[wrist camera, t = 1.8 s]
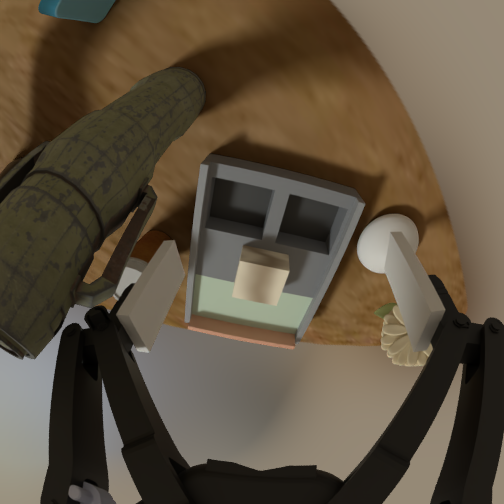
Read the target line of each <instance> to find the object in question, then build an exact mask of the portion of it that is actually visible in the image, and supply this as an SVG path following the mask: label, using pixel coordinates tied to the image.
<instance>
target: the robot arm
mask: <svg viewBox="0 0 504 504" xmlns="http://www.w3.org/2000/svg"><path fill="white" fill-rule="evenodd" d="M22 159H23V158H18V159H16V160H14V161H13V162H11V163H9V164H8V165H7V166H6V167H5V169H4V170H3V171H2V172H1V173H0V180H1V179H2V178H3V177H4V176H5V175H6V174H7V173H8V172H9V171H10V170H11V169H12V168H13V167H14V166H15V165H16V164H18V163H19V162H20V161H21V160H22ZM384 271H385V273H386V275H387V278H388V280H389V283H390V286H391V288H392V291H393V293H394V296H395V299H396V301H397V304H398V307H399V310H400V313H401V315H402V318H403V321H404V324H405V327H406V330H407V333H408V336H409V340H410V343H411V346H412V349H413V352H418V351H425V350H427V349H428V347H429V345H430V343H431V345H432V347H433V350H432V352H431V354H430V355H429V357H428V359H427V361H426V364H425V365H424V367H423V370H422V371H421V373H420V375H419V377H418V379H417V380H416V382H415V384H414V386H413V387H412V389H411V391H410V393H409V394H408V396H407V398H406V399H405V401H404V402H403V404H402V406H401V407H400V409H399V410H398V412H397V413H396V415H395V416H394V418H393V419H392V421H391V422H390V424H389V425H388V427H387V428H386V430H385V431H384V433H383V434H382V435H381V437H380V438H379V439H378V441H377V442H376V443H375V445H374V446H373V447H372V449H371V450H370V452H369V453H368V454H367V455H366V456H365V457H364V459H363V460H362V461H361V462H360V463H359V465H358V466H357V467H356V468H355V469H354V470H353V471H352V472H351V474H350V475H349V476H348V477H347V478H346V479H345V480H344V481H342V480H341V479H339V478H338V477H336V476H334V475H333V474H330V473H328V472H325V471H322V470H317V469H316V468H317V466H316V465H312V466H286V467H281V468H276V469H270V470H264V471H258V470H255V469H252V468H249V467H245V466H242V465H239V464H237V463H233V462H226V461H218V460H211V459H208V460H207V464H200V465H196V466H193V467H190V466H189V465H188V463H187V462H186V461H185V459H184V458H183V457H182V456H181V454H180V453H179V451H178V449H177V448H176V446H175V444H174V442H173V440H172V438H171V436H170V435H169V433H168V431H167V429H166V427H165V425H164V423H163V421H162V419H161V417H160V415H159V413H158V411H157V409H156V407H155V404H154V402H153V400H152V398H151V396H150V394H149V391H148V389H147V387H146V384H145V382H144V380H143V377H142V375H141V372H140V370H139V368H138V365H137V362H136V360H135V357H134V355H133V353H132V351H131V348H132V345H133V344H134V346H135V348H136V349H137V351H141V352H148V353H150V351H151V348H152V346H153V344H154V342H155V339H156V337H157V335H158V332H159V330H160V328H161V325H162V324H163V321H164V319H165V317H166V315H167V313H168V311H169V308H170V306H171V304H172V302H173V300H174V298H175V295H176V293H177V291H178V289H179V287H180V285H181V283H182V281H183V279H184V277H185V273H184V270H183V266H182V263H181V260H180V256H179V253H178V250H177V246H176V243H175V240H168V241H163V243H162V244H161V246H160V247H159V249H158V250H157V252H156V253H155V255H154V256H153V257H152V259H151V260H150V262H149V263H148V265H147V266H146V268H145V269H144V271H143V272H142V274H141V275H140V277H139V279H138V280H137V282H136V283H131V284H130V285H129V286H128V287H127V288H125V290H124V291H123V293H122V294H121V296H120V297H119V299H118V301H117V302H116V304H115V305H114V307H113V308H112V310H111V312H110V313H108V312H107V309H106V308H105V307H104V306H95V307H93V308H91V309H90V310H89V311H88V312H87V313H86V315H85V318H84V320H85V321H86V323H87V324H88V326H89V328H88V329H82V328H81V326H80V325H79V324H77V323H72V324H70V325H68V326H67V327H66V328H65V329H64V330H63V332H62V335H61V339H60V345H59V350H58V355H57V361H56V368H55V374H54V381H53V389H52V400H51V409H50V424H49V466H48V469H47V474H46V477H45V482H44V486H43V491H42V495H41V502H40V503H41V504H116V502H115V501H114V500H113V498H112V496H111V495H110V494H109V493H108V490H109V480H108V470H107V462H106V453H105V444H104V430H103V414H102V413H103V410H102V379H103V383H104V387H105V390H106V393H107V397H108V400H109V403H110V407H111V410H112V413H113V416H114V419H115V421H116V425H117V428H118V431H119V433H120V436H121V439H122V441H123V444H124V447H123V448H122V449H121V450H122V451H121V452H122V455H123V458H124V461H125V463H126V465H127V468H128V470H129V472H130V474H131V477H132V479H133V481H134V483H135V485H136V487H137V490H138V492H139V494H140V496H141V498H142V500H141V501H139V502H138V503H136V504H382V503H383V502H384V501H385V499H386V498H387V497H388V496H389V494H390V493H391V492H392V490H393V489H394V488H395V487H396V485H397V484H398V482H399V481H400V480H401V478H402V477H403V475H404V474H405V472H406V471H407V469H408V468H409V465H410V460H411V458H412V457H413V455H414V454H415V452H416V450H417V449H418V447H419V445H420V444H421V442H422V440H423V439H424V437H425V435H426V434H427V432H428V430H429V428H430V426H431V425H432V423H433V421H434V419H435V417H436V415H437V413H438V411H439V409H440V407H441V405H442V403H443V401H444V399H445V397H446V394H447V392H448V390H449V388H450V385H451V383H452V380H453V378H454V376H455V373H456V371H457V368H458V366H459V363H462V364H463V371H462V372H463V373H462V380H461V388H460V395H459V401H458V406H457V412H456V417H455V421H454V427H453V430H452V435H451V439H450V443H449V446H448V450H447V454H446V457H445V460H444V464H443V467H442V470H441V473H440V476H439V478H438V482H437V484H436V487H435V490H434V493H433V496H432V499H431V503H430V504H492V486H493V482H494V479H495V475H496V471H497V466H498V462H499V457H500V452H501V446H502V440H503V433H504V325H503V324H502V322H500V321H499V320H498V319H496V318H488V319H487V320H486V321H485V323H484V324H483V325H482V324H476V323H471V321H470V319H469V318H468V317H467V316H466V315H464V314H463V313H459V312H458V310H457V308H456V306H455V305H454V303H453V301H452V299H451V297H450V295H449V294H448V291H447V290H446V289H445V286H444V284H443V283H442V281H441V280H440V279H439V278H438V277H437V276H436V275H427V273H426V271H425V270H424V268H423V266H422V264H421V263H420V261H419V259H418V258H417V256H416V254H415V252H414V251H413V249H412V247H411V246H410V244H409V243H408V241H407V239H406V238H405V236H404V235H403V233H402V231H400V232H390V236H389V243H388V249H387V256H386V261H385V267H384Z"/></svg>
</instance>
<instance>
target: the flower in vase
mask: <svg viewBox="0 0 504 504" xmlns="http://www.w3.org/2000/svg"><path fill="white" fill-rule="evenodd" d="M400 231H402V233H403V235H404V236H405V238H406V239H407V241H408V243H409V244H410V246H411V247H412V249H413V251H414V252H415V253H416V251H417V248H418V243H419V236H418V230H417V227H416V225H415V224H414V222H413V221H412V220H411V219H410V218H408V217H407V216H404V215H401V214H387V215H383V216H381V217H378V218H376V219H375V220H373V221H372V222H371V223H370V224H368V225H367V227H366V228H365V229H364V230H363V232H362V233H361V235H360V237H359V240H358V244H357V254H358V257H359V260H360V261H361V263H362V264H363V265H364V266H365V267H366V268H368V269H369V270H371V271H373V272H376V273H385V271H384V267H385V261H386V256H387V249H388V243H389V236H390V232H400ZM374 314H376V315H377V316H379V317H381V318H383V319H384V322H383V325H384V326H383V328H382V333H381V335H382V338H381V343H382V344H381V348H382V349H383V350H388V351H387V356H388V357H389V358H392V357H393V358H392V362H393V364H398V365H400V366H403V365H405V366H414V365H415V366H419V365H420V366H424V365H425V364H426V361H427V359H428V357H429V355H430V354H431V352H432V350H433V347H432V345H431V343H430V345H429V347H428V349H427V350H425V351H418V352H413V349H412V346H411V343H410V340H409V336H408V333H407V330H406V327H405V324H404V321H403V318H402V315H401V313H400V310H399V307H398V305H397V304H396V303H389V304H386V305H384V306H382V307H381V308H379V309H378V310H377V311H375V312H374Z"/></svg>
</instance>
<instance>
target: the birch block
mask: <svg viewBox="0 0 504 504" xmlns="http://www.w3.org/2000/svg"><path fill="white" fill-rule="evenodd" d="M289 272H290V269H289V255H287V254H282V253H278V252H273V251H268V250H264V249H259V248H255V247H250V246H245V245H243V247H242V251H241V256H240V260H239V264H238V269H237V273H236V277H235V282H234V288H233V293H232V297H234V298H239V299H244V300H249V301H254V302H259V303H264V304H269V305H274V306H277V303H278V301H279V298H280V296H281V293H282V290H283V288H284V285H285V282H286V280H287V277H288V274H289Z"/></svg>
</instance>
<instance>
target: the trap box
mask: <svg viewBox="0 0 504 504" xmlns="http://www.w3.org/2000/svg"><path fill="white" fill-rule="evenodd" d="M364 206H365V203H364V201H363V200H362V198H361V197H360V195H359V194H358V192H357V191H356V189H354V188H351V187H347V186H344V185H341V184H337V183H334V182H330V181H327V180H323V179H320V178H316V177H313V176H309V175H305V174H301V173H297V172H293V171H289V170H285V169H281V168H277V167H273V166H269V165H264V164H260V163H255V162H251V161H246V160H241V159H237V158H232V157H227V156H221V155H216V154H211V153H210V154H209V155H208V156H207V157H206V158H205V160H204V161H203V162H202V163H201V166H200V172H199V180H198V187H197V194H196V202H195V210H194V219H193V228H192V237H191V247H190V257H189V268H188V280H187V293H186V308H185V322H187V323H189V325H188V329H189V330H194V331H198V332H202V333H207V334H211V335H216V336H221V337H226V338H230V339H235V340H241V341H246V342H251V343H257V344H263V345H269V346H275V347H281V348H287V349H294V348H295V344H299V342H300V340H301V338H302V336H303V335H304V333H305V331H306V329H307V327H308V325H309V323H310V322H311V320H312V318H313V316H314V314H315V312H316V310H317V308H318V306H319V304H320V302H321V300H322V298H323V296H324V294H325V292H326V290H327V288H328V286H329V284H330V282H331V280H332V278H333V276H334V274H335V272H336V270H337V268H338V265H339V263H340V261H341V259H342V257H343V255H344V252H345V250H346V248H347V246H348V244H349V241H350V239H351V237H352V235H353V232H354V230H355V228H356V225H357V223H358V221H359V218H360V216H361V213H362V211H363V209H364ZM243 245H245V246H250V247H255V248H259V249H264V250H268V251H273V252H278V253H282V254H287V255H289V269H290V272H289V274H288V277H287V280H286V282H285V285H284V288H283V290H282V293H281V296H280V298H279V301H278V303H277V306H274V305H269V304H264V303H259V302H254V301H249V300H244V299H239V298H234V297H232V293H233V288H234V282H235V277H236V273H237V269H238V264H239V260H240V256H241V251H242V247H243Z"/></svg>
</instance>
